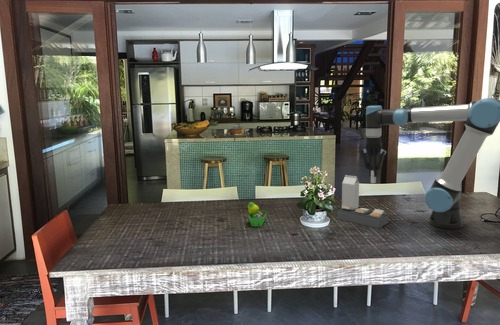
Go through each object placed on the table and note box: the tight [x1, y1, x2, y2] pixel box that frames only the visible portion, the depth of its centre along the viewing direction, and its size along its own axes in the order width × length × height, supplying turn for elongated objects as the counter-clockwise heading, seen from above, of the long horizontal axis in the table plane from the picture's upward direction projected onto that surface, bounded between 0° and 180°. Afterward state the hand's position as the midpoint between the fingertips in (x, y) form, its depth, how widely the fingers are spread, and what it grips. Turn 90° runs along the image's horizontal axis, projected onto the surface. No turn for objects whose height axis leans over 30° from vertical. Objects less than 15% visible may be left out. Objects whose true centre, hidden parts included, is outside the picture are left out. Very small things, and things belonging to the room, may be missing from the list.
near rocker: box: [370, 208, 385, 218], centre depth 200 cm, size 4×6×1 cm
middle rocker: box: [355, 207, 370, 213], centre depth 205 cm, size 4×6×1 cm
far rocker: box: [341, 205, 355, 210], centre depth 211 cm, size 4×6×1 cm
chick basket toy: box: [247, 201, 267, 228], centre depth 204 cm, size 11×9×11 cm
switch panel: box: [336, 207, 389, 229], centre depth 206 cm, size 23×10×5 cm, turn 47°
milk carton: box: [341, 174, 360, 209], centre depth 228 cm, size 7×7×19 cm
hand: (373, 182), depth 205 cm, fingers closed
